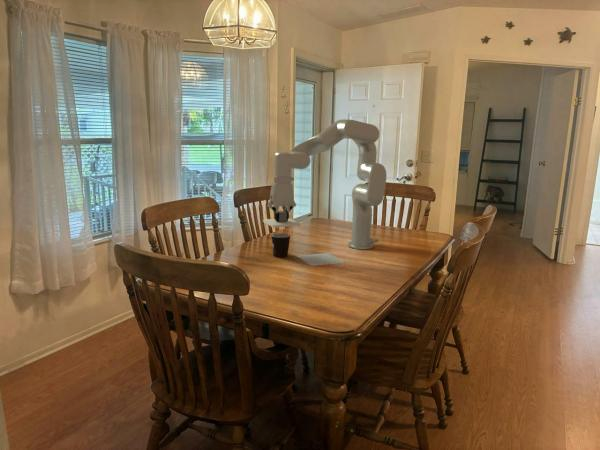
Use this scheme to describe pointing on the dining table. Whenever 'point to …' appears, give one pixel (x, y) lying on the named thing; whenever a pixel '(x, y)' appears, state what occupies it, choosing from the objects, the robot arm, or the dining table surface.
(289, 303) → the dining table surface
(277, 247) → the coffee mug
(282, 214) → the lid
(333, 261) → the mat
